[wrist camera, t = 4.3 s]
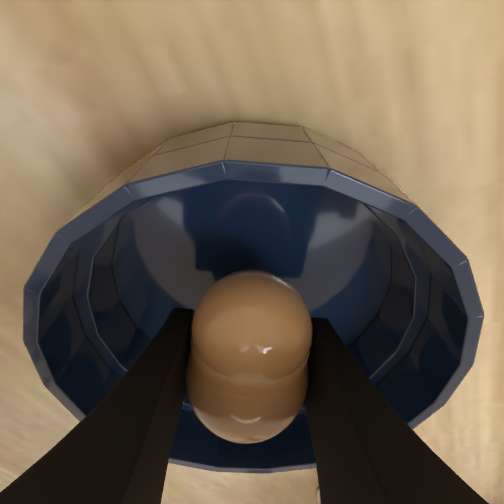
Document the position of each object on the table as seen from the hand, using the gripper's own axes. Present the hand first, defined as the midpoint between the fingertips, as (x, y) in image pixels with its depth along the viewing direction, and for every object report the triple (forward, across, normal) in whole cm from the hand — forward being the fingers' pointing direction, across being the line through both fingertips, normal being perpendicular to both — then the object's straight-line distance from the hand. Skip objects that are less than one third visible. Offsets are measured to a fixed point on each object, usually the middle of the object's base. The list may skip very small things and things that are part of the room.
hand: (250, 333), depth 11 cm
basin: (+3, 0, 0) cm, 3 cm away
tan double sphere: (+1, 0, 0) cm, 1 cm away
